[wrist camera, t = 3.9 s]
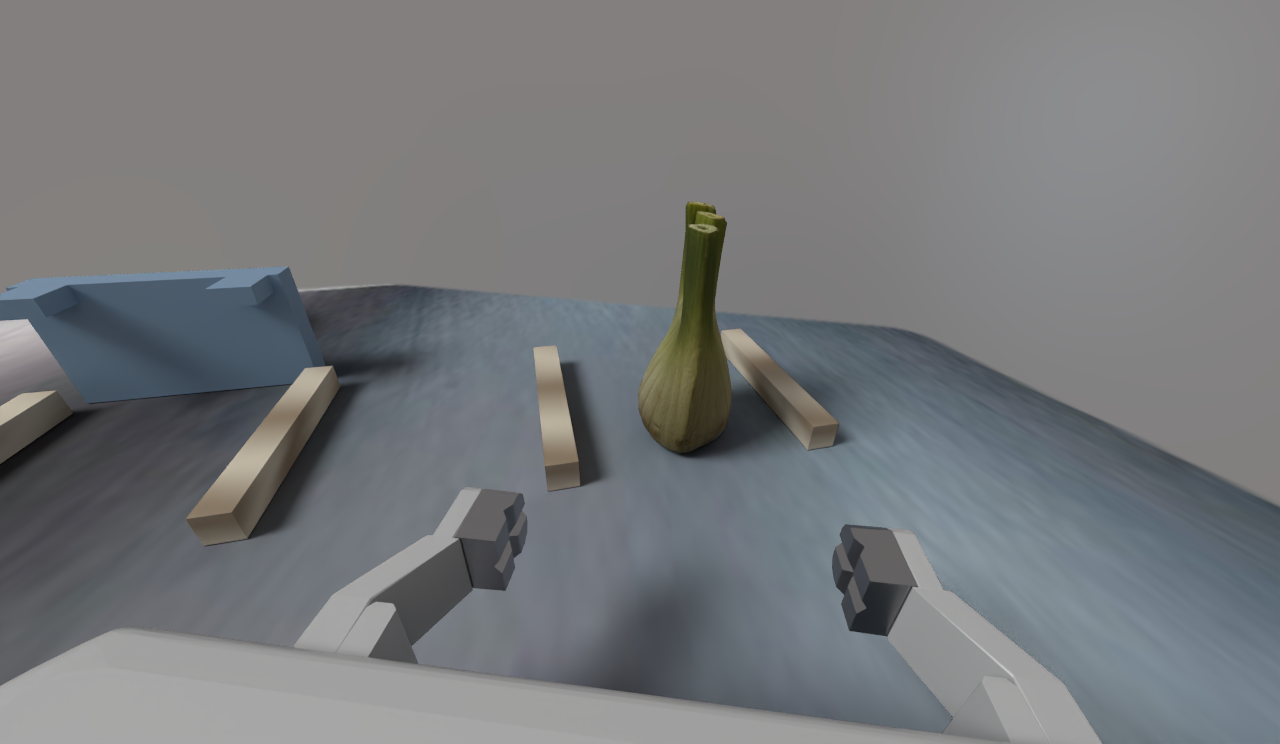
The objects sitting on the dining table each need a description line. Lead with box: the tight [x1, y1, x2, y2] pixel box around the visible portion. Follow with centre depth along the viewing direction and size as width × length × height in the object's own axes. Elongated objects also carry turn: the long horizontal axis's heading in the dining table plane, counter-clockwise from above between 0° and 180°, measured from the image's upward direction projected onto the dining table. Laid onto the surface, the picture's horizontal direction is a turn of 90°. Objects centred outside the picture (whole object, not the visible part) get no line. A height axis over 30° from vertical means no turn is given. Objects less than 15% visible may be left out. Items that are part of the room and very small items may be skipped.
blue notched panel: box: [0, 267, 326, 403], centre depth 26 cm, size 4×12×7 cm, turn 104°
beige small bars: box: [0, 329, 839, 546], centre depth 24 cm, size 12×42×2 cm, turn 104°
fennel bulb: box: [638, 202, 731, 453], centre depth 22 cm, size 6×5×12 cm
